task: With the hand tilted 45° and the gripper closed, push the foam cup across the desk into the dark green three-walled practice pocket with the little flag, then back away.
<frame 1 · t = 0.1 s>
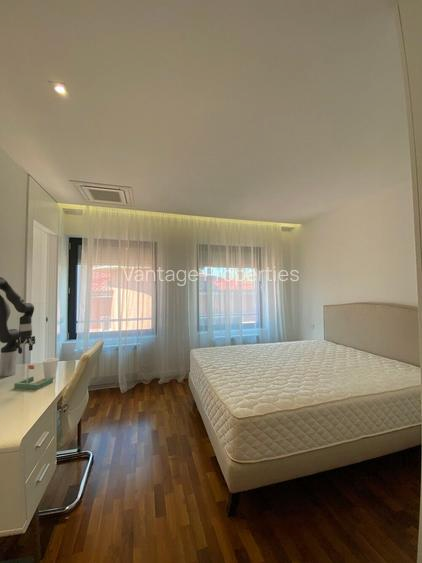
hand: (25, 351, 170), 17 cm above the table, tool pointing down, fingers open, 8 cm apart
foam cup: (50, 378, 166), on the table
green pocket: (34, 385, 152), on the table
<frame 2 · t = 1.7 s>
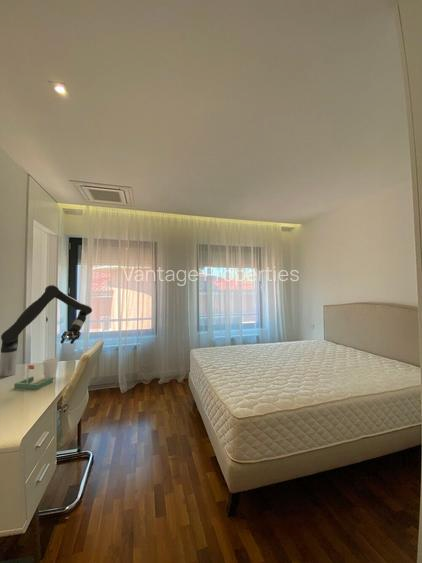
hand: (66, 343, 181), 22 cm above the table, tool tilted 45°, fingers open, 8 cm apart
nothing on the table moved.
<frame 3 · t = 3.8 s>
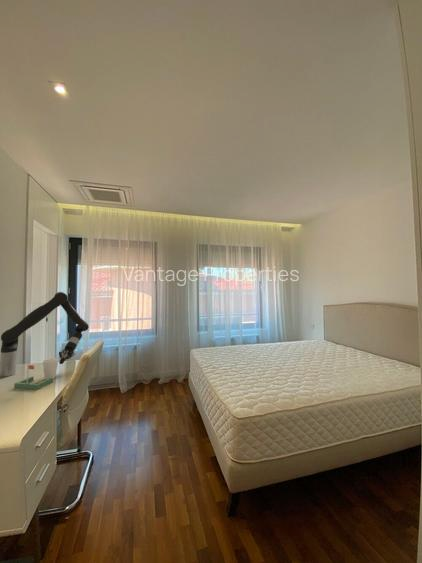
hand: (60, 363, 176), 7 cm above the table, tool tilted 45°, fingers closed
nothing on the table moved.
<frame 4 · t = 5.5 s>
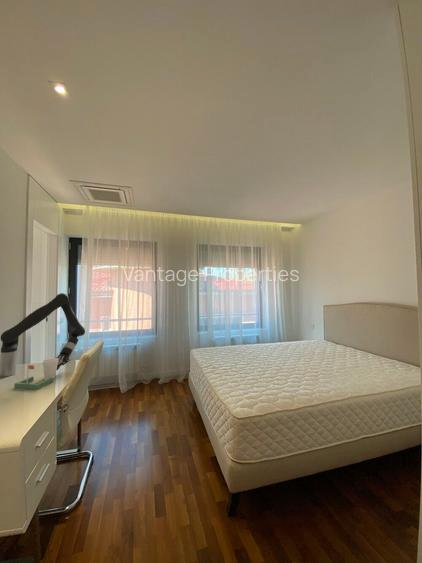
hand: (55, 369, 171), 4 cm above the table, tool tilted 45°, fingers closed
foam cup: (49, 378, 165), on the table, touching gripper
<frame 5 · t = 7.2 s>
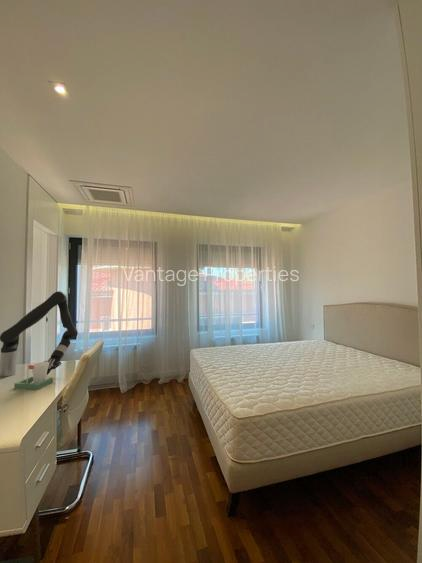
hand: (45, 374, 162), 4 cm above the table, tool tilted 45°, fingers closed
foam cup: (39, 383, 156), on the table, touching gripper
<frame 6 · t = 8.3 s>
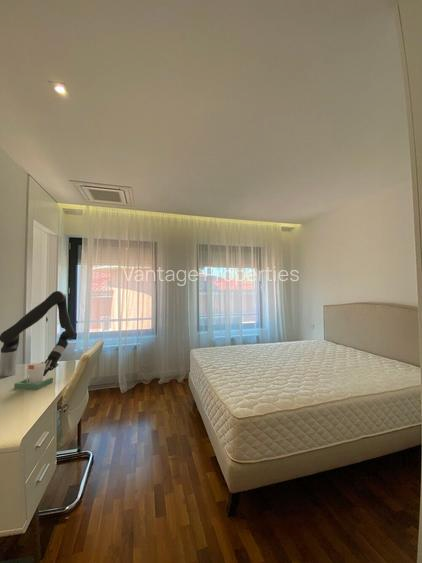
hand: (42, 375, 159), 4 cm above the table, tool tilted 45°, fingers closed
foam cup: (35, 384, 153), on the table, touching gripper
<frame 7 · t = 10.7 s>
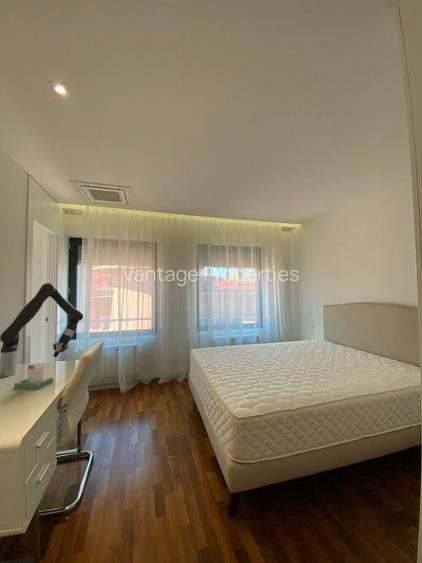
hand: (54, 356, 175), 13 cm above the table, tool tilted 30°, fingers closed
foam cup: (35, 385, 153), on the table
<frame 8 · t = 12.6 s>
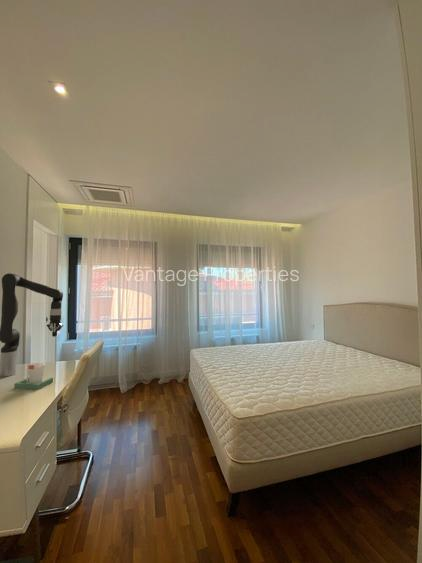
hand: (54, 336, 181), 27 cm above the table, tool pointing down, fingers closed
nothing on the table moved.
at the end: foam cup inside the target area (0.5 cm from its centre), on the table; foam cup tilted 0°; foam cup moved 12.5 cm from its start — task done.
